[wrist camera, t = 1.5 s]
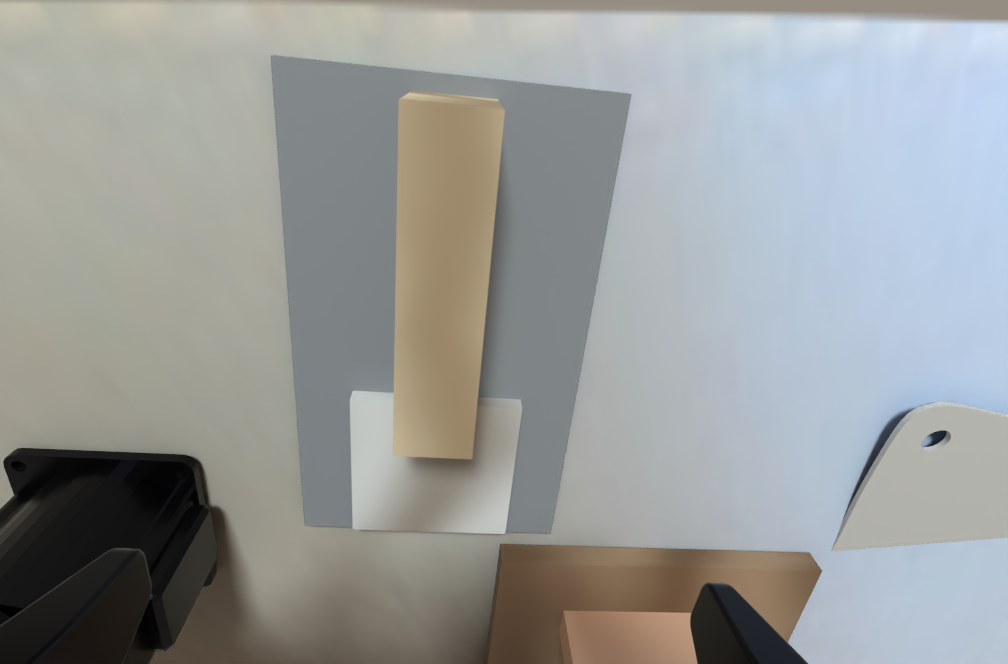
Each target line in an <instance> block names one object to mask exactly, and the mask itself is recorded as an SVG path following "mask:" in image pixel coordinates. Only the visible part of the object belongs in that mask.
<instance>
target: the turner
mask: <svg viewBox="0 0 1008 664" xmlns="http://www.w3.org/2000/svg"><path fill="white" fill-rule="evenodd" d="M504 115H505V110H504V108H503V107H502V105H501V104H500V102H499V100H498V99H490V98H480V97H471V96H461V95H452V94H442V93H432V92H423V91H413V90H412V91H411V92H409V93H408V94H406V95H405V96H403V97H402V98H400V99H399V110H398V169H397V227H396V285H395V343H394V393H387V392H369V391H353V392H352V395H351V398H350V434H351V478H352V522H353V529H354V530H387V531H420V532H453V533H486V534H505V532H506V525H507V518H508V510H509V503H510V496H511V488H512V481H513V474H514V466H515V459H516V451H517V444H518V437H519V429H520V422H521V415H522V404H521V400H518V399H500V398H481V397H478V392H479V381H480V370H481V360H482V349H483V338H484V328H485V317H486V307H487V296H488V285H489V275H490V264H491V254H492V243H493V232H494V222H495V211H496V200H497V190H498V179H499V169H500V158H501V147H502V137H503V126H504Z"/></svg>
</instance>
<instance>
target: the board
mask: <svg viewBox="0 0 1008 664" xmlns="http://www.w3.org/2000/svg"><path fill="white" fill-rule="evenodd" d="M821 572H822V570H821V569H820V567H819V566H818V564H817V563H816V561H815V560H814V559H813V557H812V556H811V554H810V553H797V552H762V551H727V550H692V549H657V548H622V547H587V546H552V545H517V544H500V551H499V559H498V566H497V574H496V582H495V589H494V597H493V604H492V612H491V619H490V627H489V634H488V642H487V650H486V657H485V664H564V660H563V653H562V647H561V641H560V634H559V630H560V625H561V621H562V616H563V611H614V612H671V613H692V610H693V608H694V605H695V603H696V600H697V598H698V595H699V593H700V590H701V588H702V586H703V585H704V584H705V583H708V582H711V583H725V584H729V585H730V586H732V587H733V588H734V589H735V590H736V591H737V592H738V593H739V594H740V595H741V596H742V597H743V598H744V599H745V600H746V601H747V602H748V603H749V604H750V605H751V606H752V607H753V608H754V609H755V610H756V611H757V612H758V613H759V614H760V615H761V616H762V617H763V618H764V619H765V620H766V621H767V622H768V623H769V624H770V625H771V626H772V627H773V628H774V629H775V630H776V631H777V632H778V633H779V634H780V635H781V636H782V638H783V639H784V640H785V641H786V642H788V640H789V638H790V636H791V634H792V632H793V630H794V628H795V626H796V624H797V622H798V620H799V618H800V616H801V614H802V612H803V609H804V607H805V605H806V603H807V601H808V599H809V597H810V595H811V593H812V591H813V589H814V587H815V585H816V583H817V581H818V579H819V576H820V574H821Z"/></svg>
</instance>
